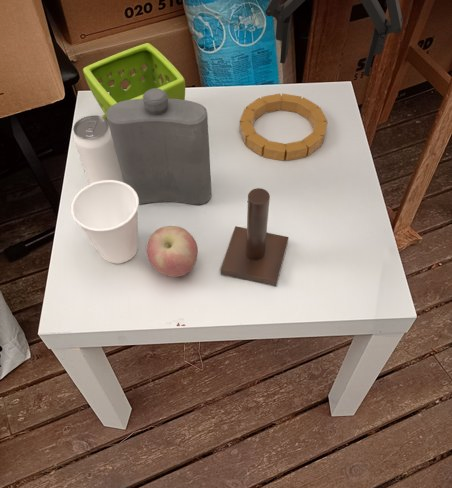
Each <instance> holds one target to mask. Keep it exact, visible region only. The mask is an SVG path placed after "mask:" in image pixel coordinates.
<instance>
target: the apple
mask: <svg viewBox="0 0 452 488" xmlns="http://www.w3.org/2000/svg"><path fill="white" fill-rule="evenodd" d="M146 243H147V244H146V254H147V255H146V256H147V258H148V261H149V263H150V264H151V266H152V267H153V268H154V269H155V270H156V271H157V272H159V273H160V274H162V275H165V276H168V277H181V276H185V275H188V274H189V272H191V271H192V269H193V268H194V266H195V264H196V262H197V259H198V255H199V249H198V244H197V241H196V240H195V237H194V236H193V235H192V233H190V232H189V231H188V230H187V229H185V228H183V227H181V226H177V225H167V226H162V227H160V228H158V229H156V230H154V232H152V234H151V235H150V236H149V238H148V240H147V242H146Z"/></svg>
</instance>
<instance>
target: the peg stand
mask: <svg viewBox="0 0 452 488" xmlns="http://www.w3.org/2000/svg"><path fill="white" fill-rule="evenodd" d="M270 200H271V195H270V192H269V191H268V190H266V189H264V188H262V187H261V188H260V187H257V188H253V189H251V190H250V191H249V192H248V193H247V214H246V215H247V216H246V227H241V226H236V225H235V226H234V229H233V232H232V235H231V238H230V241H229V244H228V247H227V249H226V253H225V256H224V259H223V261H222V263H221V268H220V275H221V276H225V277H226V276H227V277H230V278H231V277H232V278H236V279H240V280H244V281H249V282H253V283H258V284H263V285H267V286H271V287H277V286H278V282H279V278H280V274H281V270H282V266H283V262H284V259H285V255H286V251H287V248H288V245H289V238H290V237H289V236H287V235H281V234H275V233H271V232H268V221H269V210H270Z"/></svg>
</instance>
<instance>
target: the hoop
mask: <svg viewBox="0 0 452 488" xmlns="http://www.w3.org/2000/svg"><path fill="white" fill-rule="evenodd" d="M276 111H286V112H292V113H296V114H298V115H300V116H301V117H303V118H304V119H307V120H308V121H309V123H310V126H311V127H312V129H313V130H312V132H310V134H308V135H307V136H305V138H303V139H302V140H298V141H293V142H287V143H282V142H277V141H272V140H268V139H267V138H265V137H264V136H262V135H261V134H259V133H258V132H256V129H255V126H254V124H255V121H256V120H257V119H259V118H260V117H262V116H264V115H265V114H266V113H272V112H276ZM327 127H328V119H327V117H326V115H325V114H324V112H323V110H322V108H321V107H320V106H319V105H318V104H317V103H315V102H313V101H311V100H309V99H308V98H305V97H304V96H303V97H302V96H300V95H294V94H289V93H275V94H274V93H273V94H269V95H264V96H261V97H257V99H255V100H254V101H252V102H251V103H249V104H247V105H246V106H245V107H244V109H243V112H242V114H241V117H240V119H239V134H240V136H241V138H242V141H243V143H244V145H245V146H246V148H248V150H249V149H250V150H251V151H252V152H254V153H255V154H257V155H258V156H260V157H263V158H266V159H270V160H276V161H281V162H288V161H294V160H299V159H303V158H304V159H305V158H307V157H309V156H310V155H312V154H313V153H314V152H316V151H317V150H318V149H319V148H321V147H322V145H323V144H324V139H325V137H326V132H327Z"/></svg>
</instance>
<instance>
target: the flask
mask: <svg viewBox="0 0 452 488" xmlns="http://www.w3.org/2000/svg"><path fill="white" fill-rule="evenodd" d="M106 114H107V120H108V124H109V128H110V132H111V136H112V139H113V143H114V147H115V151H116V155H117V159H118V163H119V166H120V170H121V174H122V178H123V183H126V184H128V185H129V186H131V187H132V188H133V189H134V190H135V192H136V193H137V195H138V198H139V205H142V204H143V205H144V204H149V203H150V204H151V203H159V202H169V203H171V202H172V203H174V202H175V203H182V204H183V203H184V204H190V205H195V206H198V205H199V206H200V205H204V204H206V203H208V202H209V200H211V197H212V193H213V192H212V176H211V158H210V157H211V156H210V140H209V137H210V136H209V118H208V110H207V108H206V107H205V106H204V105H203V104H200V103H199V102H195V101H193V100H186V99H185V100H180V99H168V98H167V93H166V92H165V91H163V90H161V89H157V88H154V89H150V90H148V91H147V92H145V93H144V95H143V99H133V100H126V101H122V102H119V103H116V104H114V105H112V106H111V107H110V108H109V109H108V111H107V112H106Z"/></svg>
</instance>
